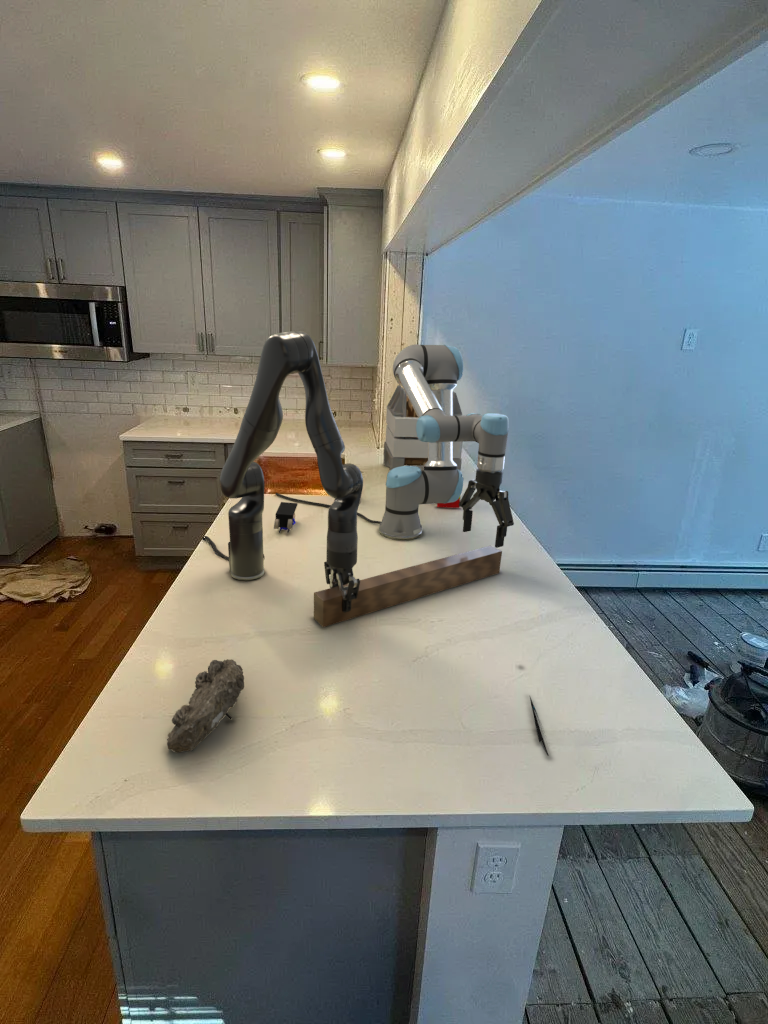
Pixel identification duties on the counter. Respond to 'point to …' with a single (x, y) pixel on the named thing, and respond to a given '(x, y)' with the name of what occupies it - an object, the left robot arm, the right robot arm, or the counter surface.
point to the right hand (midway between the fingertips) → (482, 538)
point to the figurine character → (285, 516)
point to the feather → (538, 726)
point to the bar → (407, 584)
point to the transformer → (410, 433)
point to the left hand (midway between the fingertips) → (340, 606)
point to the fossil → (206, 705)
